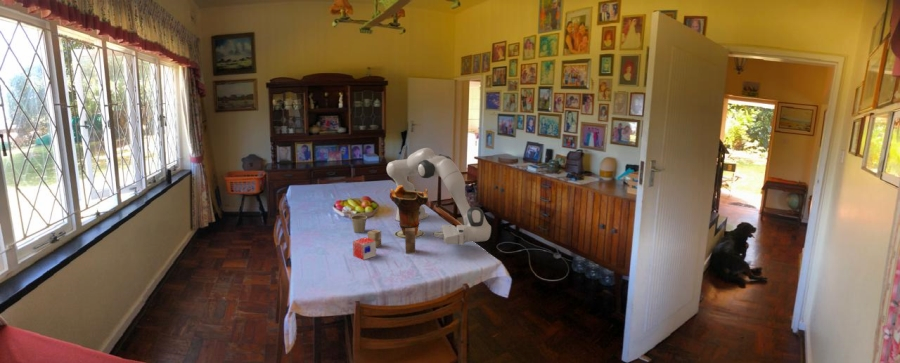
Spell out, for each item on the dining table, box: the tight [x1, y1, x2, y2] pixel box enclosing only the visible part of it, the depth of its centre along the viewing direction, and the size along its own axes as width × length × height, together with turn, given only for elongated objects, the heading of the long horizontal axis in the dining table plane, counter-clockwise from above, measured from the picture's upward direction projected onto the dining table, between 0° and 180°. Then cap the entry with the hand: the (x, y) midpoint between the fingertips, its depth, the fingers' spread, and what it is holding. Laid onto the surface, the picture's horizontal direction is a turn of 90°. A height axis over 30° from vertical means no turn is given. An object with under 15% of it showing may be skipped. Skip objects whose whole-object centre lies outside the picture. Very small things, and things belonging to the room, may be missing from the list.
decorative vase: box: [389, 185, 429, 239], centre depth 247 cm, size 21×23×28 cm
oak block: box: [367, 229, 382, 248], centre depth 230 cm, size 5×5×8 cm
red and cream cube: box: [352, 236, 377, 261], centre depth 216 cm, size 8×8×8 cm
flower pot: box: [350, 214, 368, 234], centre depth 253 cm, size 9×9×9 cm
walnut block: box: [404, 228, 416, 255], centre depth 222 cm, size 5×5×12 cm
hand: (433, 234), depth 222 cm, fingers closed
